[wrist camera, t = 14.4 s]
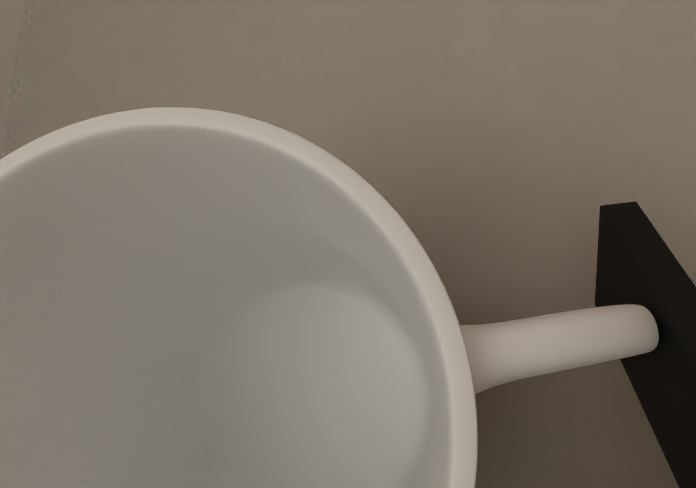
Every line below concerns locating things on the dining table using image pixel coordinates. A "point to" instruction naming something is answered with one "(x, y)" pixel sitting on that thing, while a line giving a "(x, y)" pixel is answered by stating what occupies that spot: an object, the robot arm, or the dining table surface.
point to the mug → (240, 318)
